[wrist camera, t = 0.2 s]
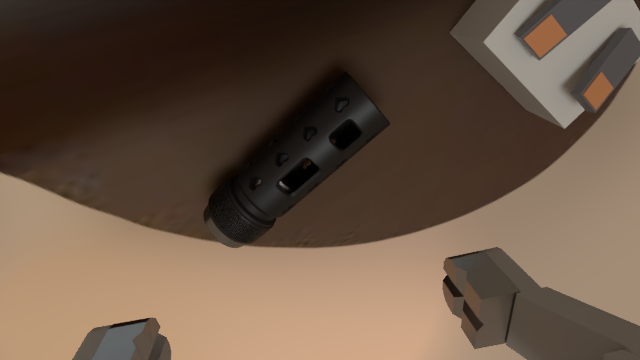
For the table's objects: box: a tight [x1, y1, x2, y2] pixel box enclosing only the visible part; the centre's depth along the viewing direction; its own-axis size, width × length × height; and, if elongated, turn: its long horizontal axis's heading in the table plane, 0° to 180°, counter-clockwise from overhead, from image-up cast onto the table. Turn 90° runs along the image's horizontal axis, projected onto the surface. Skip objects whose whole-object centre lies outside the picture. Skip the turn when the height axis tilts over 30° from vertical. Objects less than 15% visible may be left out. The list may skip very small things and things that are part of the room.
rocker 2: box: [571, 28, 640, 113], centre depth 40 cm, size 4×9×2 cm, turn 144°
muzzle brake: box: [203, 72, 390, 248], centre depth 46 cm, size 10×28×10 cm, turn 132°
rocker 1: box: [515, 0, 612, 61], centre depth 36 cm, size 4×9×2 cm, turn 144°
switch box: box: [450, 0, 640, 128], centre depth 41 cm, size 28×14×8 cm, turn 53°
